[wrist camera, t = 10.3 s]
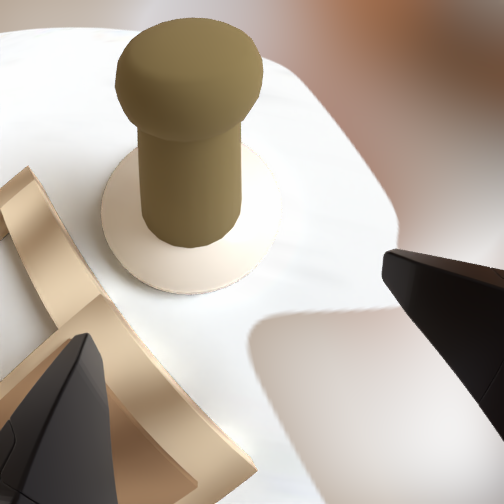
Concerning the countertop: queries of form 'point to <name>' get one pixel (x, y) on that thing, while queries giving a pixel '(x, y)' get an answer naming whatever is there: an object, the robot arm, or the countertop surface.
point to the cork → (189, 124)
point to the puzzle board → (115, 369)
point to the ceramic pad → (200, 258)
